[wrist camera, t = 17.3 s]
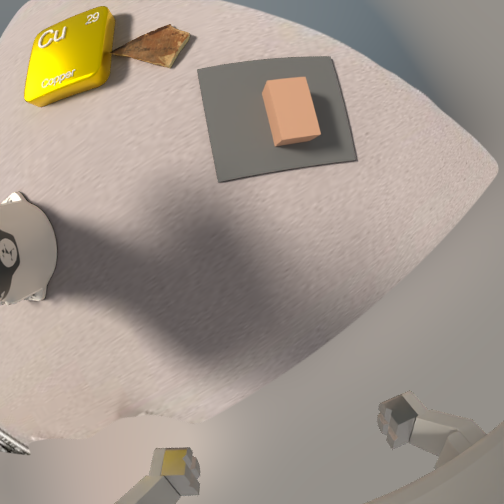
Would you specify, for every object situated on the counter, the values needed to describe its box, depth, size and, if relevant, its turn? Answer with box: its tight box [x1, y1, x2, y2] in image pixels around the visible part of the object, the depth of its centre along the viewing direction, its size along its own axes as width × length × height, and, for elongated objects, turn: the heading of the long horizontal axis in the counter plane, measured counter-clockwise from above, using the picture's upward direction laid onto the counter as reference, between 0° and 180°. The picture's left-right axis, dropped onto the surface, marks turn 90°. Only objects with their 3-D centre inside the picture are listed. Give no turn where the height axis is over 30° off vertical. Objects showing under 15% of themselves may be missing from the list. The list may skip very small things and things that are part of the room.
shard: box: [110, 24, 190, 68], centre depth 32 cm, size 11×8×2 cm
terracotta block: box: [262, 77, 321, 147], centre depth 33 cm, size 5×5×8 cm
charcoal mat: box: [197, 56, 356, 182], centre depth 36 cm, size 20×17×1 cm
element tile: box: [24, 6, 115, 107], centre depth 29 cm, size 15×15×5 cm
